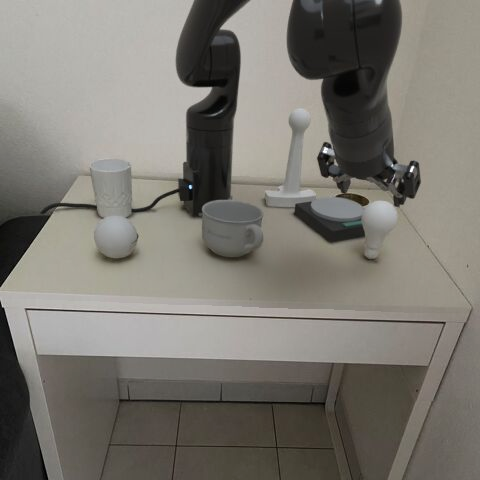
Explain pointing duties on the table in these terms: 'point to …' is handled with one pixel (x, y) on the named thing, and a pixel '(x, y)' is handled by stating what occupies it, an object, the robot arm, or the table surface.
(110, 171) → the white cup
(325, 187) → the table surface
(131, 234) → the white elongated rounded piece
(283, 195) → the joystick
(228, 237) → the teacup
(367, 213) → the lightbulb
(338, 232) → the scale
